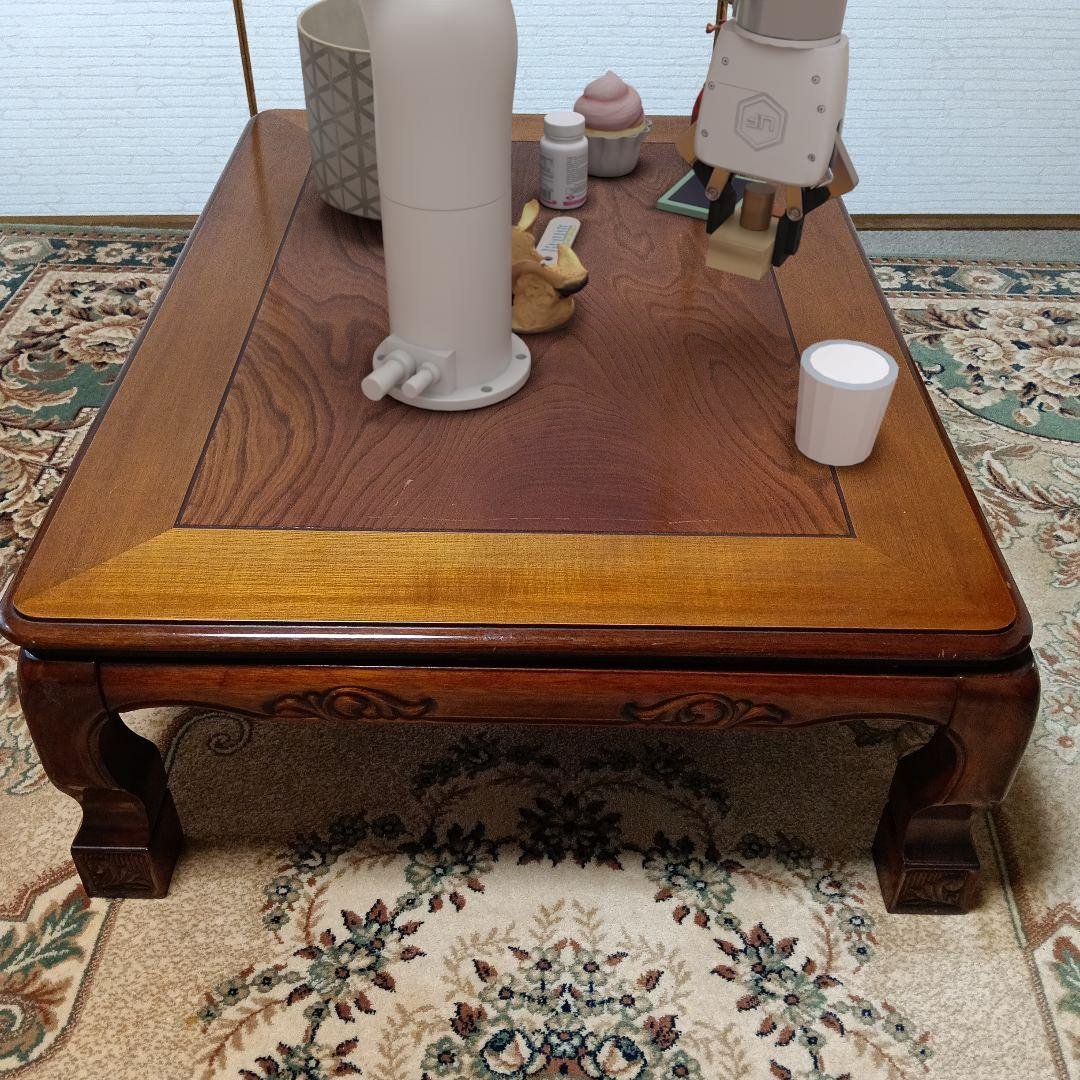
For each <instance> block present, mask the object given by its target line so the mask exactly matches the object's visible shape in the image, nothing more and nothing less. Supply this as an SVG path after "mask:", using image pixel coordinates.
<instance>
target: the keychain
mask: <svg viewBox="0 0 1080 1080" xmlns="http://www.w3.org/2000/svg"><path fill="white" fill-rule="evenodd" d="M580 229H581V221H580V220H578V219H577V218H575V217H572V216H563V215H562V216H556V217H554V218H552V219H550V220H549V222H548V224H547V226H546V228H545V230H544V232H543V235H542V236H541V238H540V240H539V242H538V244H537V246H536V247H535V249H536V251H538V253H539V254H541V255H542V256H543V257H544V259H543V260H542V261H541V264H543V263H545V265H547V266H549V265H550V264H551V263H553V264H554V265H555V264H557V259H558V248H557V246H558V243H560V244H566V245H568V246H569V247H570V248H571V249H572V248H573V247H572V246H573V244H574V242H575V240H576V237H577V236H578V233H579V231H580Z"/></svg>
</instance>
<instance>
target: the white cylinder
mask: <svg viewBox="0 0 1080 1080" xmlns="http://www.w3.org/2000/svg"><path fill="white" fill-rule="evenodd" d="M799 362H800V364H799V377H798V391H797V405H796V417H795V418H796V421H795V433H794V442H795V445H796V447H797V449H798V451H800V452H801V454H803V455H804V456H806V458H807V459H808V458H809V459H810V460H813V461H815V462H818V463H820V464H823V465H829V466H833V467H845V466H854V465H856V464H860V463H862V462H864V461H865V460H867V458H868V457H870V456H871V453H872V451H873V447H874V445H875V442H876V439H877V437H878V433H879V431H880V428H881V426H882V422H883V419H884V417H885V414H886V411H887V408H888V405H889V402H890V399H891V397H892V394H893V391H894V388H895V385H896V383H897V380H898V376H899V369H900V367H899V365H898V363H897V362H896V360H895V358H894V357H893V356H892V355H890V354H888V352H886V351H885V350H883V349H881V348H880V347H877V346H875V345H873V344H869V343H866V342H863V341H857V340H851V339H826V340H823V341H819V342H815V343H812V344H811V345H809V347H807V348H805V350H803V352H802V354H801V358H800V361H799Z"/></svg>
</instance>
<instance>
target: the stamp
mask: <svg viewBox="0 0 1080 1080" xmlns="http://www.w3.org/2000/svg"><path fill="white" fill-rule="evenodd" d="M776 195H777V188H776V187H775V186H774V185H772V184H770V183H762V182H752V183H749V184H747V185H746V186H745V189H744V195H743V202H742V205H741V206H740V207H739V208H738V209H737V210H736V211H735V212H734V213H733V214H732V215H731V216H730V217H729V218H728V219H727V220H726V221H725V222H724V223H723V224H722V225H721V226H720V227H719V228H718V229H717V230H716V231H715V232H714V233H713V234H712V235H711V234H710V235H711V236H710V235H709V236H708V242H707V249H706V257H705V261H704V262H705V263H704V267H707V268H710V269H713V270H717V271H721V272H725V273H727V274H728V273H729V274H733V275H735V276H736V275H737V276H740V277H742V278H743V277H744V278H747V279H751V280H754V281H760V280H762V278H763V277H764V276H765V274H766V273H767V272H768V271H769V270H770V268H772V267H773V264H771V261H772V255H773V250H774V244H775V236H776V231H777V225H778V221H779V219H780V217H781V216H782V215H783V214H784V213H785V209H786V208H783V207H779V206H775V200H776Z"/></svg>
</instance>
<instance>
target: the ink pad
mask: <svg viewBox="0 0 1080 1080" xmlns="http://www.w3.org/2000/svg"><path fill="white" fill-rule="evenodd" d="M752 182H762V183H767V181H765V180H761V179H756V178H755V179H754V178H751V177H745V176H742V175H737V174H736V176H735V179H734V181H733V183H732V186H733V190H736V193H735V194H737V199H736V206H735V211H736V210H737V209H738V208H739V207H740V206H741V205H742V202H743V195H744V189H745V186H746V185H747V184H749V183H752ZM767 184H768V183H767ZM705 191H706V189H705V188H704V186H703V185H702V183H701V182H700V180H699V179H698V177H697V176H696V174H695V173H694V171H693V168H692V169H691V170H690V171H689V172H687V174H685V175H684V176H683V177H682V178H681V179H680V180H678V181H677V182H676V183H675V185H673V186H672V187H671V188H670V189H669V190H668V191H667V192H665V193H664V194H663V195H662V196H661V197H660V198H659V199H657V201H656V209H658V210H662V211H666V212H671V213H673V214H674V213H675V214H678V215H682V216H687V217H692V218H695V219H700V220H705V221H707V219H708V211H709V204H710V200H709V199H708V198H707V197H706V194H705Z"/></svg>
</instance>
